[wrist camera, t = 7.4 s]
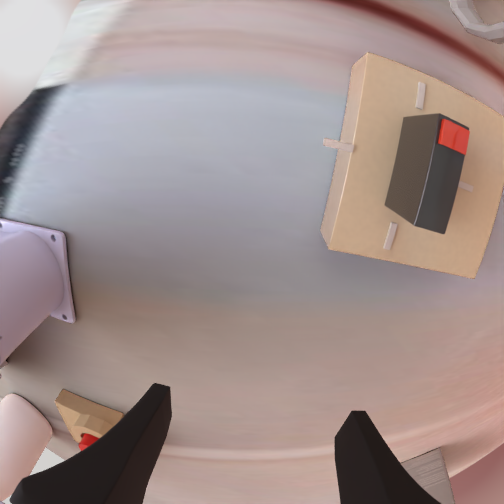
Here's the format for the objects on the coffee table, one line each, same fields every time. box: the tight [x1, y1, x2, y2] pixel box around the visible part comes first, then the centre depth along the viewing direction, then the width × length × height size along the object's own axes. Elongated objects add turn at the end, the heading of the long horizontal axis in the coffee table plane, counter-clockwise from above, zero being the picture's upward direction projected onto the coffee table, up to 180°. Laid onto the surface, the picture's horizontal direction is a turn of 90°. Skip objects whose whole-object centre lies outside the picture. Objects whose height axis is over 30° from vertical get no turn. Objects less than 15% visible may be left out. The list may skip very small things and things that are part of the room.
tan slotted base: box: [320, 52, 504, 279], centre depth 14 cm, size 11×10×3 cm
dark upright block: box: [384, 113, 470, 234], centre depth 11 cm, size 4×2×4 cm, turn 170°
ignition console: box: [55, 389, 124, 443], centre depth 25 cm, size 9×10×4 cm
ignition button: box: [79, 433, 99, 451], centre depth 22 cm, size 4×4×2 cm
